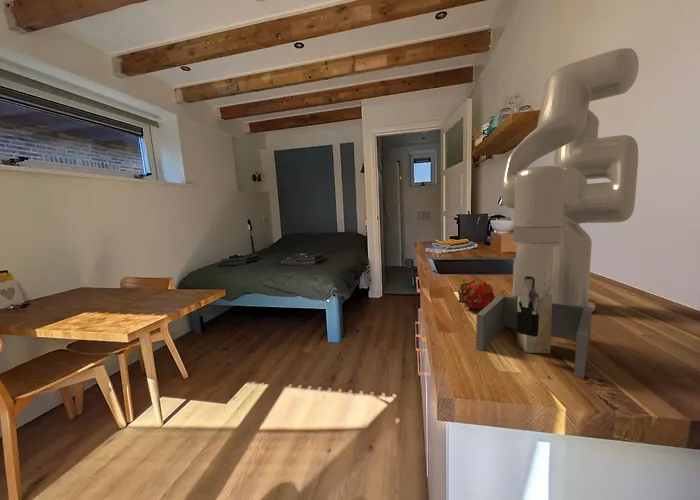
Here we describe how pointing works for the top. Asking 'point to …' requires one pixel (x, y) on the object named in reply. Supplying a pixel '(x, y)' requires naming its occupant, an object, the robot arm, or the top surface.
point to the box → (539, 329)
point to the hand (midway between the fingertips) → (532, 326)
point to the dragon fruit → (476, 294)
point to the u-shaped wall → (564, 324)
